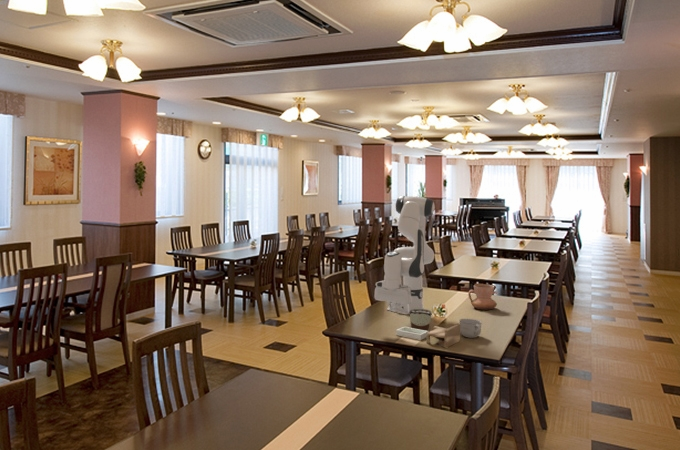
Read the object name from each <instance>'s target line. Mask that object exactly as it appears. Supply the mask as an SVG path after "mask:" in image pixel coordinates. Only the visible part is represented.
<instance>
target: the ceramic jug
mask: <svg viewBox="0 0 680 450" xmlns="http://www.w3.org/2000/svg"><path fill="white" fill-rule="evenodd" d="M494 290H495V286H494V285H492V284H491V285H490V284H474V285H473V289H469V291H468V292H467V293H468V294H467V296H468V298H469V300H470V303H471V306H472V307H473V308H474V309H478V310H483V311H489V310H492V309H494V308H496V307H497V305H498V303H497V302H496V300H494V299H492V296H493V295H494V294H496V295H498V293H499V291H497V290H496V291H494ZM471 293H473V294H475V296H476V297H475V299H473V298H472V297H471V296H472V295H471Z"/></svg>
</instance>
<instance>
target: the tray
mask: <svg viewBox="0 0 680 450" xmlns="http://www.w3.org/2000/svg"><path fill="white" fill-rule="evenodd" d="M428 332H430V330H429V331H425V330H420V329H415V328H411V327H409V326H402V327H400V328H397V329H395V335H396V336H399V337H404V338H408V339H413V340H419V341H421V340H423V339H424V340H425V339H427V333H428Z"/></svg>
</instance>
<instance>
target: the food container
mask: <svg viewBox="0 0 680 450" xmlns="http://www.w3.org/2000/svg"><path fill="white" fill-rule="evenodd" d="M408 315H409V318H410V328H415V329H420V330H425V331H429V332H430V328H431V327H430V326H431V319H432V316H433V313H432V311H431V309H425V308H424V309H412V310H410V311H409V314H408Z"/></svg>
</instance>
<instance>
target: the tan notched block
mask: <svg viewBox="0 0 680 450" xmlns="http://www.w3.org/2000/svg"><path fill="white" fill-rule="evenodd" d="M431 337H435V338H439V340H438V346H441V347H444V348H449V347H451V346H452V345H454V344H456V343H458V342H460V341H461V333H460V323H456V324H455V325H453V326H449V327H448V328H447V327H442V326H436V325H435V326H433V330H429V332H428V333H427V337H426V344H431ZM443 339H444V340H443Z"/></svg>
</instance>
